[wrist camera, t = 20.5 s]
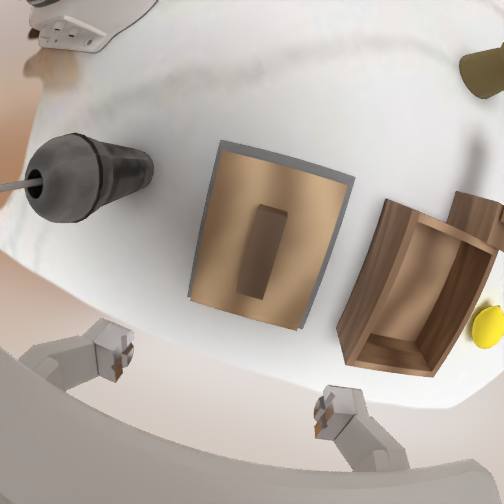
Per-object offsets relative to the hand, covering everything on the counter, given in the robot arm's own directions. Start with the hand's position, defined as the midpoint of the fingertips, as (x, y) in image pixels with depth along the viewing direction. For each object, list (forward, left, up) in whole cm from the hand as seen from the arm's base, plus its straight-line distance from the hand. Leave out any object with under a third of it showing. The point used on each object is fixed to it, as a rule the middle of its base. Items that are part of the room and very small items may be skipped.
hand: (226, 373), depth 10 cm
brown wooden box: (+17, +2, -20) cm, 27 cm away
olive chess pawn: (+20, +28, -21) cm, 40 cm away
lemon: (+33, -2, -21) cm, 39 cm away
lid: (0, 0, -20) cm, 20 cm away
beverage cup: (-16, +4, -21) cm, 26 cm away
